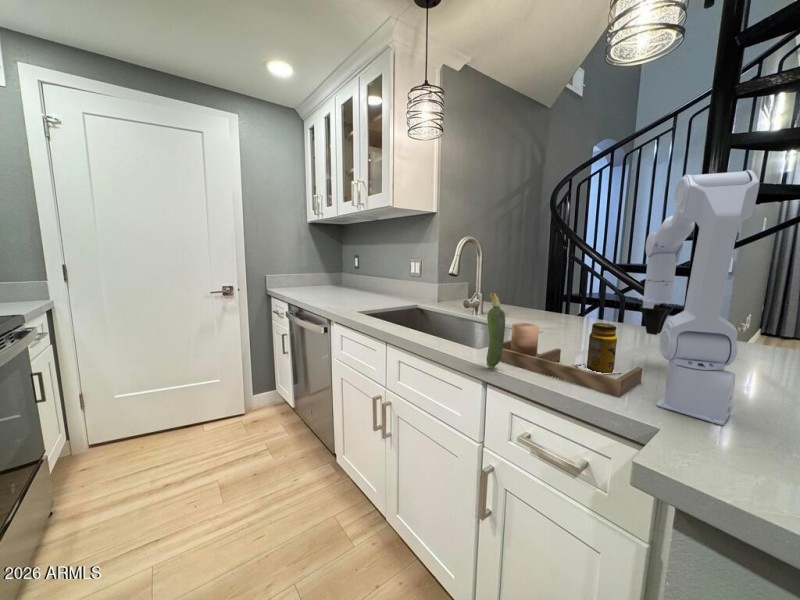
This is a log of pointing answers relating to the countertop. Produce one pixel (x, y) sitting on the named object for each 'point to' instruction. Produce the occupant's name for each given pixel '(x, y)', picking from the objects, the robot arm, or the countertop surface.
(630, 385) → the caddy
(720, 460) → the countertop surface
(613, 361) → the condiment
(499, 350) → the vegetable
